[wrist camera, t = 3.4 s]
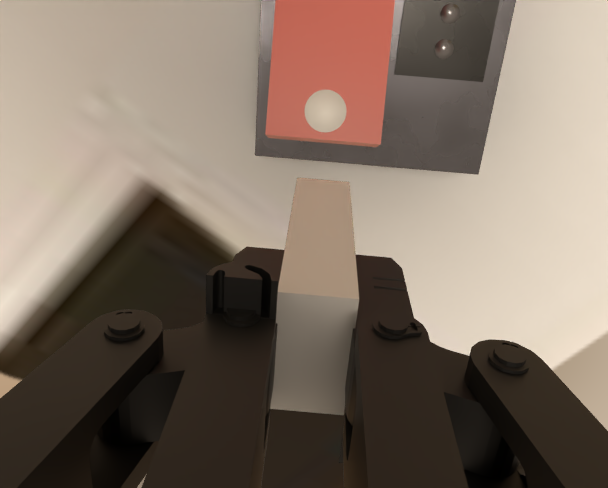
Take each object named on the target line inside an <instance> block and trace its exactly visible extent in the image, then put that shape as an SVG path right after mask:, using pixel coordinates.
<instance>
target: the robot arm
mask: <svg viewBox="0 0 608 488" xmlns="http://www.w3.org/2000/svg"><path fill="white" fill-rule="evenodd" d="M404 281H405V279H404V275H403V271H402V268H401V267H400V266H399V265H398V264H397V263H396V262H395V261H394V260H393V259H392V258H387V257H376V256H364V255H355V243H354V232H353V220H352V208H351V196H350V184H349V182H341V181H330V180H318V179H307V178H297V182H296V188H295V193H294V199H293V205H292V211H291V216H290V222H289V228H288V234H287V239H286V245H285V250H278V249H267V248H255V247H246V248H244V249H243V250H242V251H240V252H239V253H238V254H236V255H235V257H234V260H233V262H230V263H225V264H221V265H219V266H216V267H214V268H212V269H211V270H210V271H209V272H208V273H207V275H206V315H205V318H204V321H203V322H202V323H200V324H197V325H194V326H191V327H185V328H180V329H170V330H163V328H162V322H161V321H160V320H159V319H158V318H157V317H156V316H155V315H153V314H151V313H148V312H146V311H140V310H132V309H125V310H117V311H114V312H111V313H107V314H104V315H102V316H100V317H98V318H97V319H95V320H93V321H92V322H91V323H89V324H88V325H87V326H86V327H85V328H83V329H82V330H81V331H80V332H79V333H77V334H76V335H75V336H74V337H73V338H72V339H70V340H69V341H68V342H67V343H66V344H64V345H63V346H62V347H61V348H60V349H59V350H57V351H56V352H55V353H54V354H53V355H51V356H50V357H49V358H48V359H47V360H45V361H44V362H43V363H42V364H41V365H40V366H38V367H37V368H36V369H35V370H34V371H32V372H31V373H30V374H29V375H28V376H27V377H25V378H24V379H23V380H22V381H21V382H19V383H18V384H17V385H16V386H15V387H14V388H12V389H11V390H10V391H9V392H8V393H6V394H5V395H4V396H3V397H2V398H0V488H137V486H138V485H139V484H140V482H141V481H142V479H143V478H144V477H145V475H146V474H147V475H146V477H145V480H144V483H143V485H142V488H261V482H262V475H263V468H264V460H265V453H266V446H267V438H268V431H269V420H270V409H281V410H292V411H303V412H314V413H326V414H337V415H344V408H345V406H346V413H345V421H344V428H343V435H342V443H341V450H340V457H339V463H343V470H344V488H608V431H607V430H606V429H605V428H604V427H603V425H602V424H601V423H600V422H599V421H598V420H597V419H596V418H595V417H594V416H593V415H592V413H590V411H589V410H588V409H587V408H586V407H585V406H584V405H583V404H582V403H581V401H580V400H579V399H578V398H577V397H576V396H575V395H574V394H573V393H572V392H571V391H570V390H569V388H568V387H567V386H566V385H565V384H564V383H563V382H562V381H561V380H560V379H559V377H558V376H557V375H556V374H555V373H554V372H553V371H552V370H551V369H550V368H549V367H548V365H547V364H546V363H545V362H544V361H543V360H542V359H541V358H540V357H538V356H537V355H536V354H535V353H534V352H532V351H531V350H529V349H527V348H525V347H523V346H521V345H519V344H516V343H513V342H510V341H505V340H485V341H480V342H478V343H477V344H475V345H474V346H472V348H471V352H470V356H467V355H464V354H460V353H457V352H453V351H450V350H447V349H444V348H442V347H439V346H437V345H435V344H433V343H431V342H430V340H429V336H428V332H427V331H426V329H425V327H424V326H423V325H422V324H421V323H420V322H418V321H417V320H416V319H414V317H413V312H412V308H411V304H410V300H409V296H408V292H407V288H406V283H405V282H404Z"/></svg>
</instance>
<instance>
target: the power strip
mask: <svg viewBox="0 0 608 488" xmlns="http://www.w3.org/2000/svg"><path fill="white" fill-rule="evenodd" d="M275 2H276V0H261V18H260V43H259V69H258V94H257V119H256V144H255V155H257V156H269V157H281V158H292V159H304V160H316V161H327V162H339V163H351V164H362V165H374V166H386V167H397V168H409V169H421V170H432V171H444V172H456V173H467V174H478V173H479V169H480V164H481V160H482V155H483V150H484V146H485V141H486V136H487V132H488V127H489V123H490V118H491V113H492V109H493V104H494V99H495V95H496V90H497V85H498V81H499V76H500V72H501V67H502V62H503V58H504V53H505V48H506V44H507V39H508V35H509V30H510V25H511V21H512V16H513V11H514V7H515V2H516V0H395V5H394V16H393V26H392V36H391V46H390V56H389V66H388V76H387V86H386V96H385V106H384V116H383V127H382V137H381V145H379V146H377V147H368V146H356V145H344V144H333V143H321V142H309V141H298V140H286V139H274V138H268V137H267V136H266V135H265V132H266V119H267V106H268V93H269V80H270V67H271V54H272V41H273V28H274V15H275Z"/></svg>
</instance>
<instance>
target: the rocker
mask: <svg viewBox="0 0 608 488" xmlns="http://www.w3.org/2000/svg"><path fill="white" fill-rule="evenodd" d="M394 5H395V0H276V2H275V15H274V28H273V41H272V54H271V67H270V80H269V93H268V106H267V119H266V132H265V135H266V136H267V137H268V138H274V139H286V140H298V141H309V142H321V143H333V144H344V145H356V146H368V147H377V146H379V145H381V137H382V127H383V116H384V106H385V96H386V86H387V76H388V66H389V56H390V46H391V36H392V26H393V16H394Z"/></svg>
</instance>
